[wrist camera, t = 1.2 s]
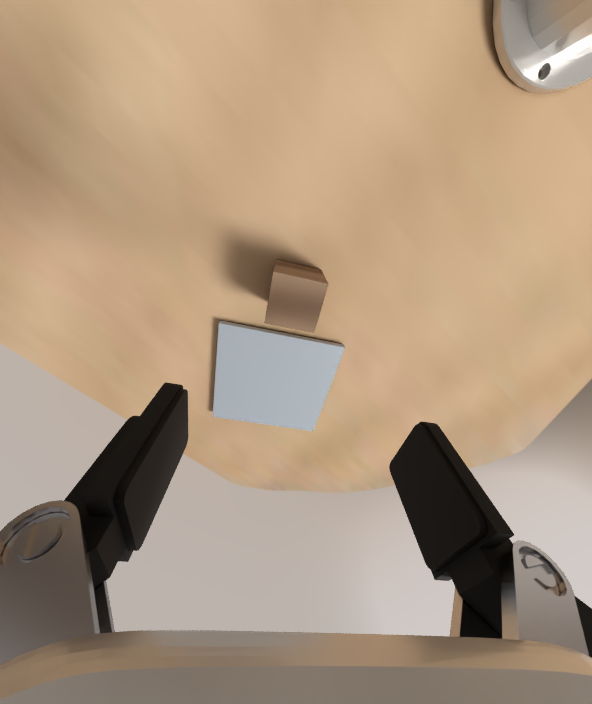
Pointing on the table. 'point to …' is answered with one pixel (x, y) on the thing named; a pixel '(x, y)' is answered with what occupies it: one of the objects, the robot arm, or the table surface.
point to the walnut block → (295, 296)
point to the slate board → (272, 376)
